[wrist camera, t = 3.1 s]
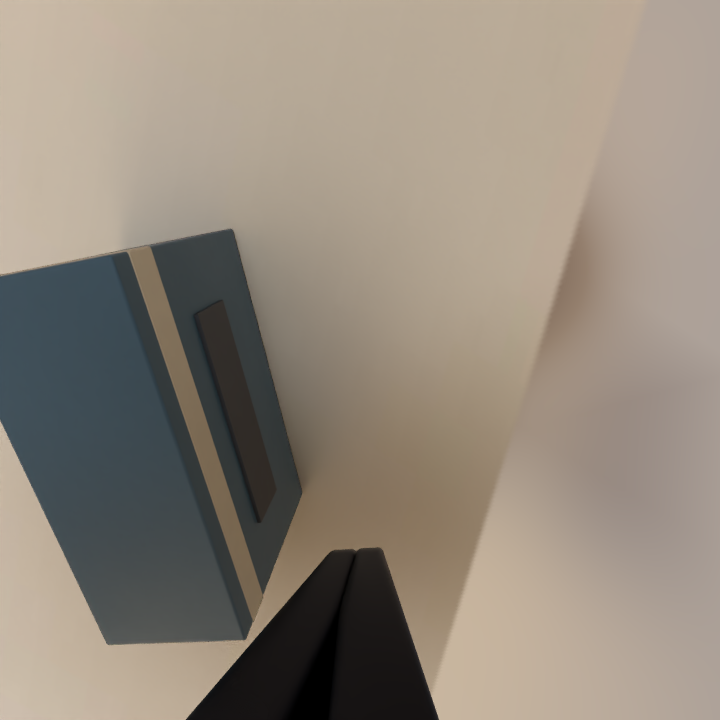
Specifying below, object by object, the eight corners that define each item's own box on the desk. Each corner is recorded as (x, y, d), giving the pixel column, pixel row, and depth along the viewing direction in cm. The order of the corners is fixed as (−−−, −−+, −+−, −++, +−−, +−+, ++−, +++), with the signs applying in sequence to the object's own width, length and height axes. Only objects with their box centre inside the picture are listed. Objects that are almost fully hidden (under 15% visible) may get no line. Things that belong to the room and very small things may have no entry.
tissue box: (118, 250, 17) (-66, 288, 11) (236, 226, 16) (115, 252, 10) (204, 502, 21) (106, 646, 14) (306, 493, 20) (250, 642, 13)
